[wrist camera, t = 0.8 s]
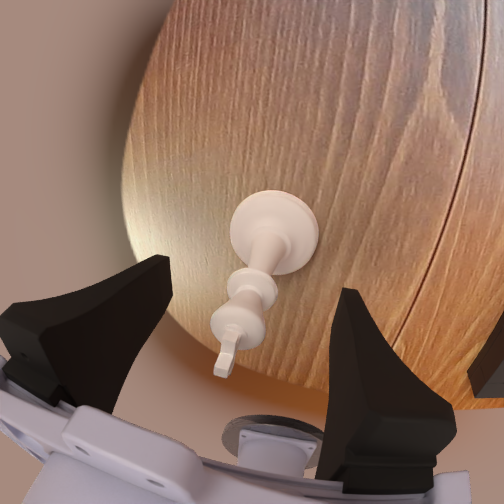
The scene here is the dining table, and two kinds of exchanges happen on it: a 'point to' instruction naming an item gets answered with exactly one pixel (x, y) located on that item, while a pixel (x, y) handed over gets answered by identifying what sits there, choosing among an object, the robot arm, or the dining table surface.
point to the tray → (489, 366)
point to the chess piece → (260, 267)
